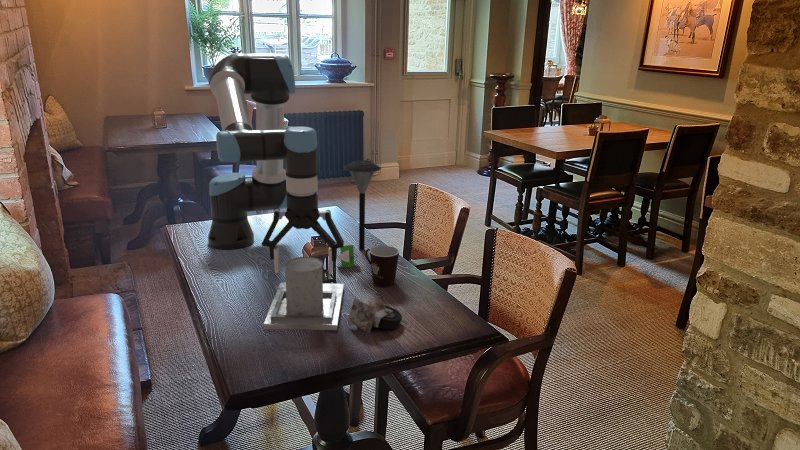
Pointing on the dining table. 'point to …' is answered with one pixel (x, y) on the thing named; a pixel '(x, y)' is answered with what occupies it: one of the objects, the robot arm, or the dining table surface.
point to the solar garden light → (362, 190)
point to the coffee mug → (383, 265)
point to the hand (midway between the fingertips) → (303, 271)
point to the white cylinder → (304, 285)
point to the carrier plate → (320, 321)
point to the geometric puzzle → (347, 256)
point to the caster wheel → (373, 315)
